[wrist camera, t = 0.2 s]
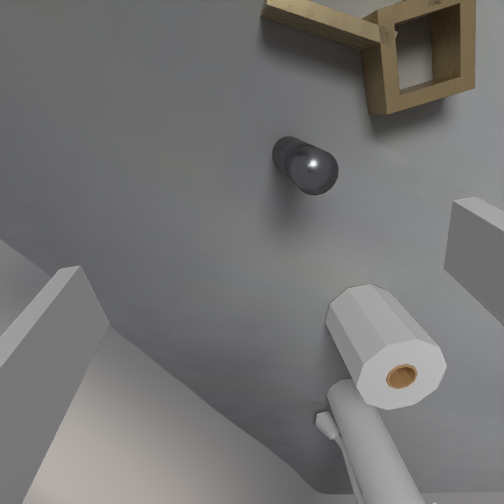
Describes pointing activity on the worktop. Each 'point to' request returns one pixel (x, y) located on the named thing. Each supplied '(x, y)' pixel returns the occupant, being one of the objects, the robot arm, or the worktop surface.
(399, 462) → the fire extinguisher
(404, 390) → the toilet paper
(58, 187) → the worktop surface
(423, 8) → the tan piece
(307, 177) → the hinge pin
